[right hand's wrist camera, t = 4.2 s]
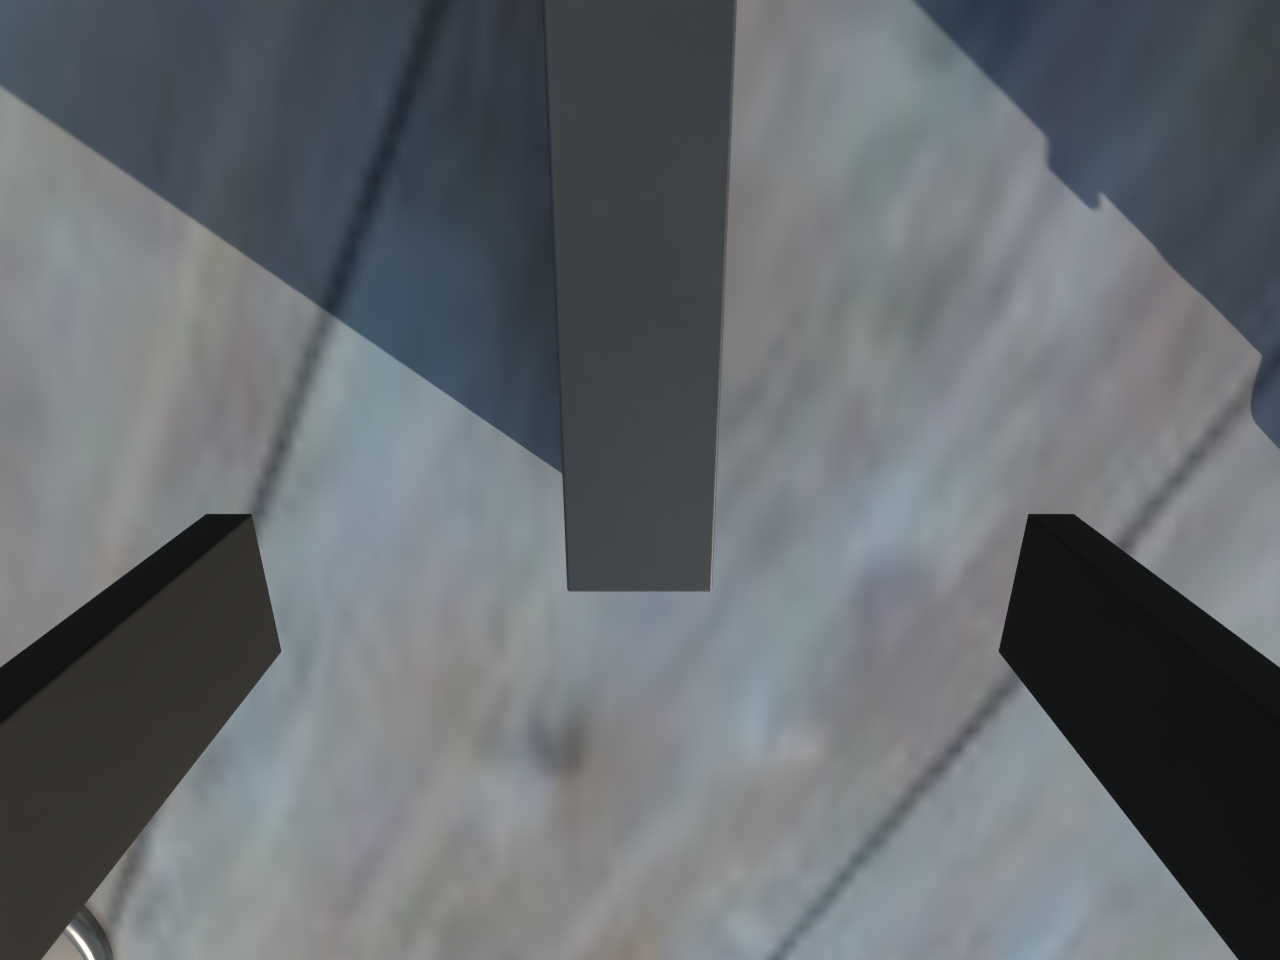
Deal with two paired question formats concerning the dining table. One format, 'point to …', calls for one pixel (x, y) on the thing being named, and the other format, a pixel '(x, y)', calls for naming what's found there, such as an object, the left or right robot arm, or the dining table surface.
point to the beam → (639, 281)
